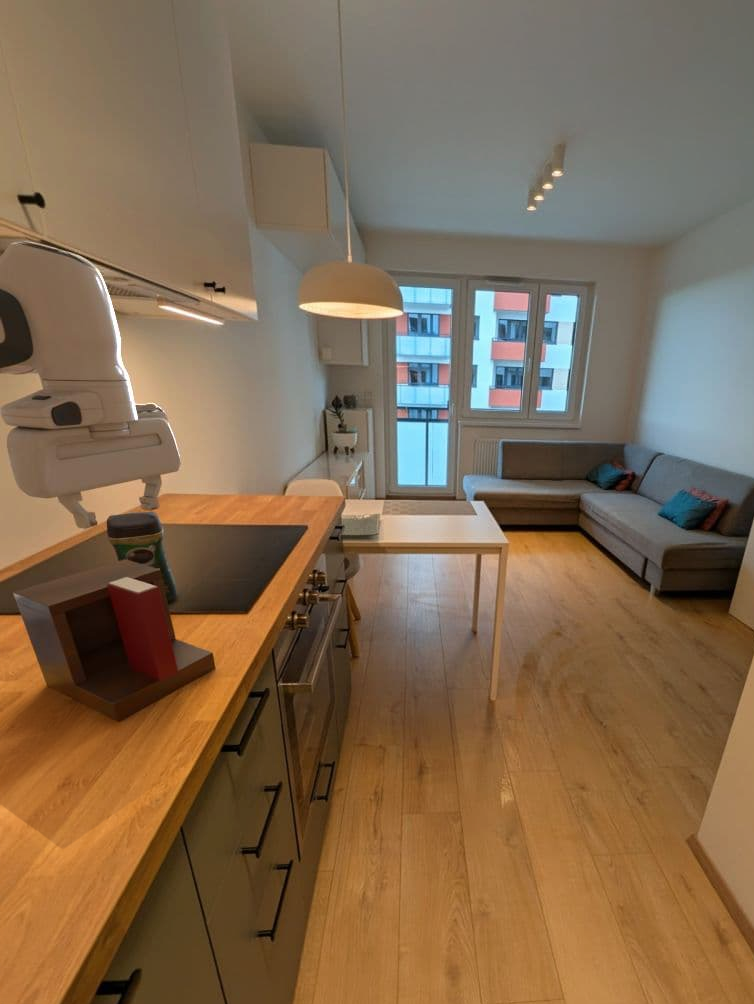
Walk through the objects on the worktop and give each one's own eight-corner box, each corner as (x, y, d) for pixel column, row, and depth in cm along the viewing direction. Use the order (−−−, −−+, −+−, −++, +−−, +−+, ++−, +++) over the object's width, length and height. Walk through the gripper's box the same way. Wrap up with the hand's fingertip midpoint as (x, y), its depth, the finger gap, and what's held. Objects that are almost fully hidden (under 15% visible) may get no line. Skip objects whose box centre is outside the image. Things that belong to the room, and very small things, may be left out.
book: (130, 669, 77) (106, 583, 71) (148, 660, 79) (127, 576, 73) (160, 681, 74) (137, 593, 68) (178, 672, 76) (158, 585, 70)
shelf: (46, 685, 78) (12, 592, 71) (146, 641, 90) (125, 559, 84) (118, 722, 70) (88, 621, 64) (215, 668, 83) (198, 580, 77)
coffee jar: (177, 589, 111) (159, 506, 104) (179, 603, 105) (160, 515, 97) (126, 597, 107) (103, 511, 99) (125, 612, 101) (101, 521, 93)
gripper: (145, 401, 71) (165, 498, 77) (-18, 409, 53) (24, 535, 59) (181, 403, 69) (199, 502, 75) (24, 412, 52) (64, 542, 57)
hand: (121, 517), depth 67 cm, fingers open, 8 cm apart
